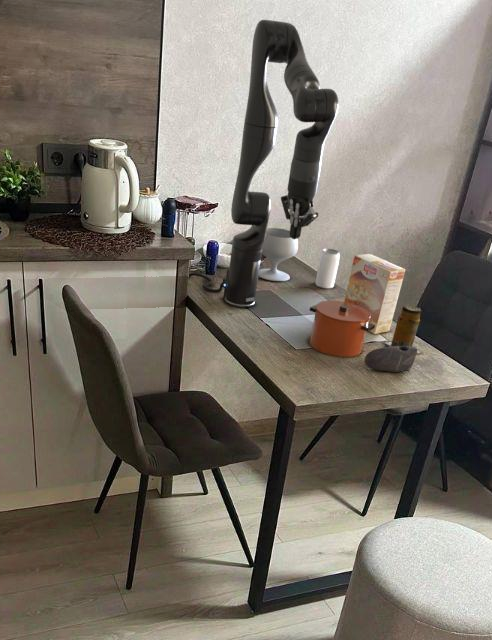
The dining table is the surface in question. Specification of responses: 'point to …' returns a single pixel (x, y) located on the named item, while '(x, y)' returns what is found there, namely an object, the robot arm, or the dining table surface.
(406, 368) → the perforated stone tool
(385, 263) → the coffeecake box
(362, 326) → the pot
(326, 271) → the can
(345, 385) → the dining table surface
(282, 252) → the chalice
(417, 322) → the condiment
